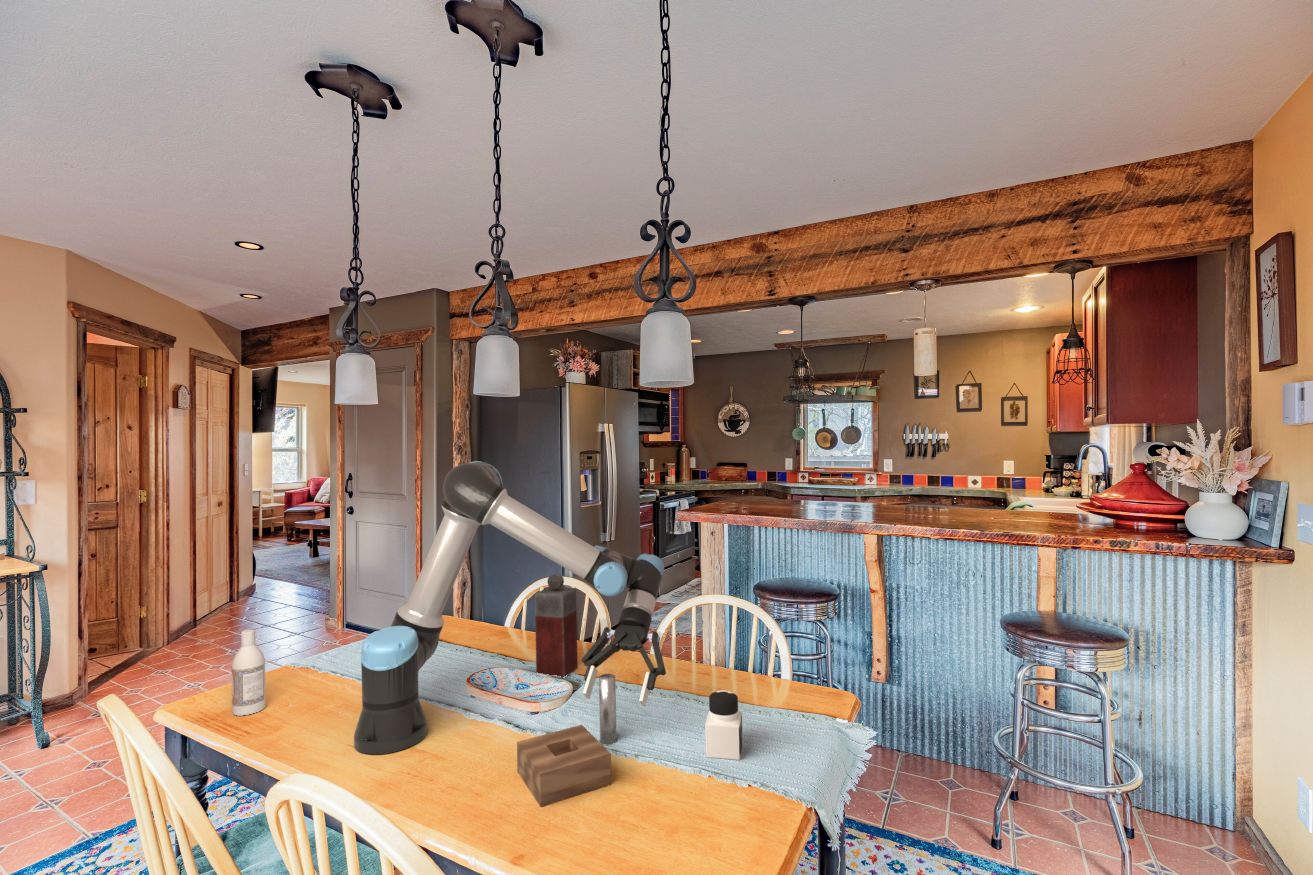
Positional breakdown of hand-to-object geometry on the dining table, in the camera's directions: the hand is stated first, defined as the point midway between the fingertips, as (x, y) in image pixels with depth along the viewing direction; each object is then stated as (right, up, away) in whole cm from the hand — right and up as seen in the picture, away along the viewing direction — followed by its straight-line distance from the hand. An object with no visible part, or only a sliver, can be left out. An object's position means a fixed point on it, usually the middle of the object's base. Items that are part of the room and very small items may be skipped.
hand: (613, 699), depth 136 cm
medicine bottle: (+24, -8, -6) cm, 26 cm away
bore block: (-9, -9, -16) cm, 20 cm away
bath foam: (-93, -11, +18) cm, 95 cm away
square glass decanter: (-19, -9, +42) cm, 47 cm away
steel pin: (-1, -8, -1) cm, 9 cm away
